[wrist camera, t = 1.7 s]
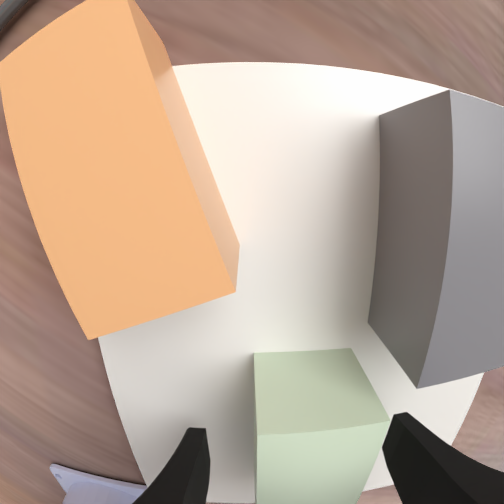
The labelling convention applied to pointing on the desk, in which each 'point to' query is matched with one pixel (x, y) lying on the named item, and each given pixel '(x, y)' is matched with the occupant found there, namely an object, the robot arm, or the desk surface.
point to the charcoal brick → (441, 238)
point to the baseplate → (275, 266)
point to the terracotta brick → (115, 169)
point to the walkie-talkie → (9, 10)
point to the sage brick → (314, 427)
